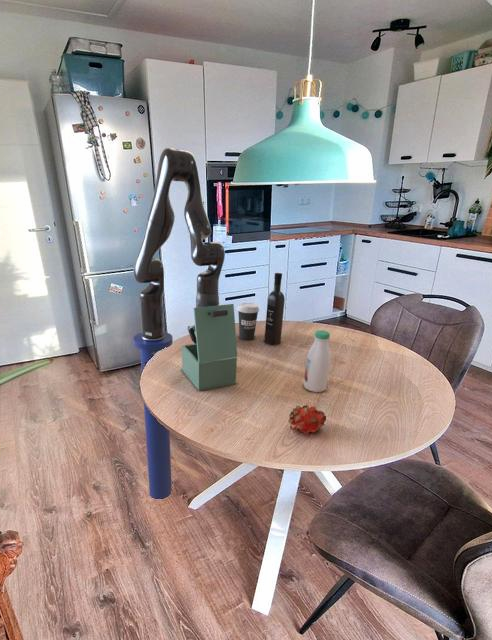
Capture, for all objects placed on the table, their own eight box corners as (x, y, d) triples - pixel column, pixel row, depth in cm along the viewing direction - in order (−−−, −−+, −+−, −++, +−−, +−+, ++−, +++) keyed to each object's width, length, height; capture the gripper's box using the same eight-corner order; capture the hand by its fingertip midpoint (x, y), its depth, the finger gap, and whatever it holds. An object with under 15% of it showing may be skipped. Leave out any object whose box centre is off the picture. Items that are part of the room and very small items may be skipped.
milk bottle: (330, 387, 133) (339, 332, 124) (319, 395, 127) (327, 338, 119) (310, 379, 137) (317, 326, 129) (299, 387, 132) (305, 332, 124)
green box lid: (193, 307, 120) (199, 308, 116) (232, 303, 126) (239, 304, 121) (198, 362, 124) (204, 364, 119) (236, 356, 129) (243, 358, 124)
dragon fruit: (282, 436, 108) (319, 435, 112) (298, 435, 100) (336, 434, 104) (280, 406, 110) (316, 406, 114) (295, 403, 102) (333, 403, 106)
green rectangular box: (182, 370, 141) (181, 345, 137) (216, 364, 146) (216, 340, 142) (198, 390, 127) (198, 363, 123) (235, 383, 133) (236, 357, 129)
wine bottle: (272, 345, 165) (279, 275, 153) (263, 341, 169) (268, 273, 157) (281, 342, 169) (288, 273, 157) (271, 338, 173) (277, 271, 160)
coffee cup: (233, 339, 170) (234, 306, 164) (239, 332, 179) (240, 301, 172) (254, 342, 168) (256, 309, 162) (259, 335, 176) (261, 303, 170)
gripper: (222, 300, 133) (221, 346, 140) (183, 303, 128) (183, 351, 135) (231, 306, 127) (230, 353, 134) (191, 310, 122) (191, 359, 129)
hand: (206, 352), depth 134 cm, fingers closed on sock, 4 cm apart
